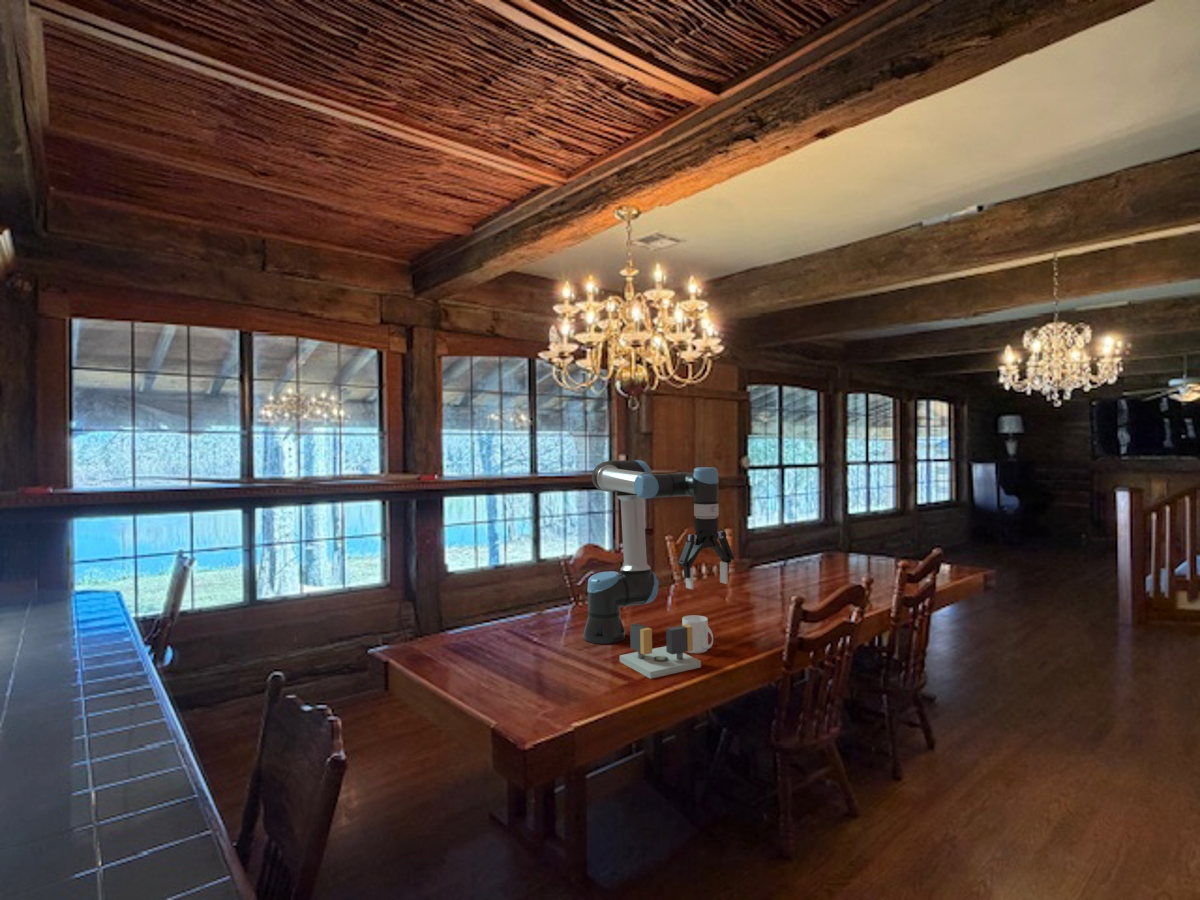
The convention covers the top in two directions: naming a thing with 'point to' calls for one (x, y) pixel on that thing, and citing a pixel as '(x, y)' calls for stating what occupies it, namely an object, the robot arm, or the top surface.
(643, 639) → the knob
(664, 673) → the base plate
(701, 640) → the mug
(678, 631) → the knob
